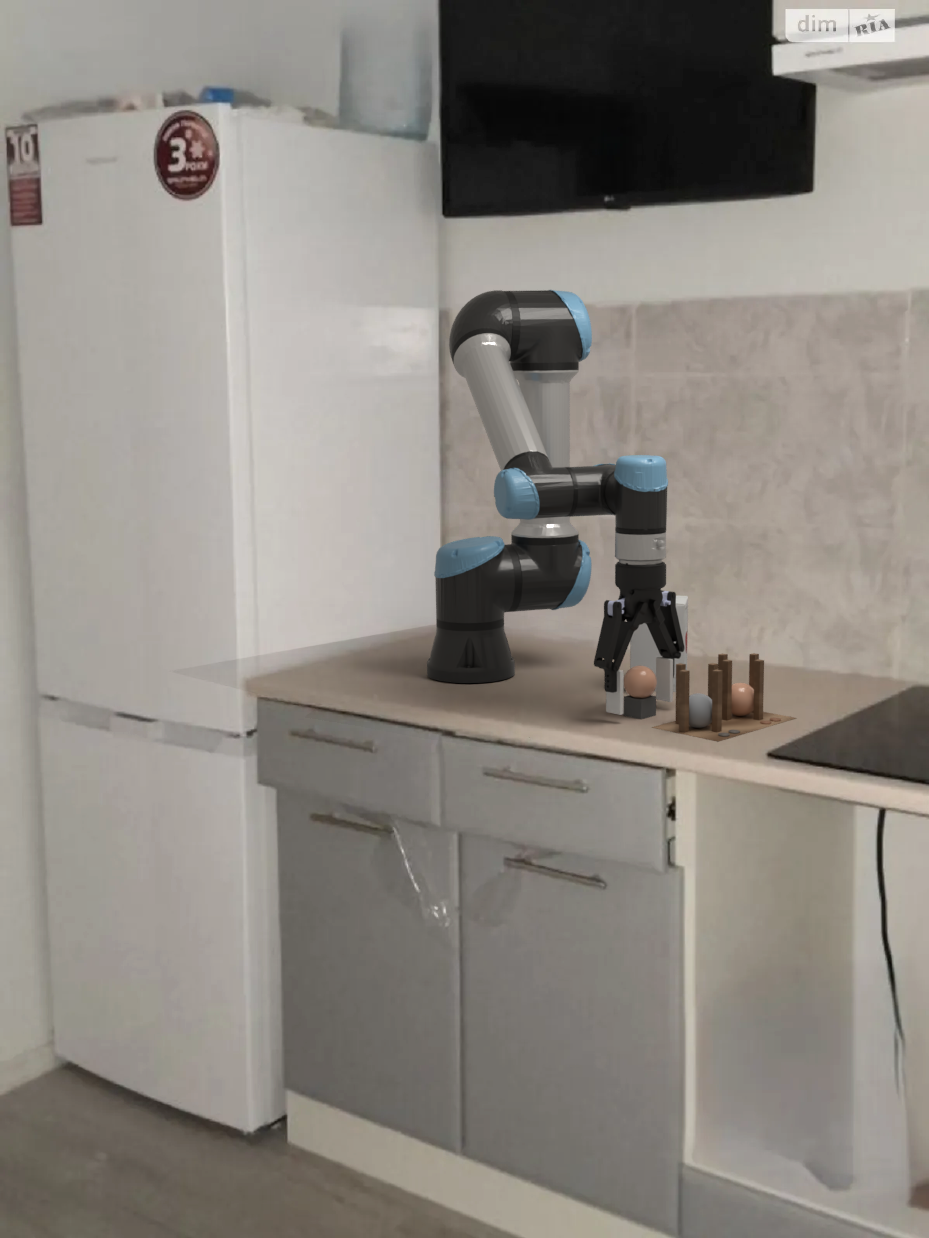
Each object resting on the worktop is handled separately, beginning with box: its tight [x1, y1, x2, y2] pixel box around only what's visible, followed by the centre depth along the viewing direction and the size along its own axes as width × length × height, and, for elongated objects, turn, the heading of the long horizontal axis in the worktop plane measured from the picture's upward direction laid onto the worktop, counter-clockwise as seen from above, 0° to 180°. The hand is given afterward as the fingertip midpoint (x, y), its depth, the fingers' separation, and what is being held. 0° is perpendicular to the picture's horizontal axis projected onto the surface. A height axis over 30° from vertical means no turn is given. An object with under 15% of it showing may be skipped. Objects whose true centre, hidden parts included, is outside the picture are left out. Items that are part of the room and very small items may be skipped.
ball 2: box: [731, 682, 754, 716], centre depth 227 cm, size 5×5×5 cm
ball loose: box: [623, 665, 657, 699], centre depth 228 cm, size 5×5×5 cm
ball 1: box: [689, 692, 712, 728], centre depth 220 cm, size 5×5×5 cm
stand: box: [623, 694, 657, 720], centre depth 228 cm, size 3×3×4 cm
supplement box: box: [629, 595, 689, 693], centre depth 248 cm, size 9×9×15 cm
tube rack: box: [651, 652, 798, 743], centre depth 223 cm, size 12×19×10 cm, turn 133°
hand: (639, 706), depth 228 cm, fingers open, 11 cm apart
